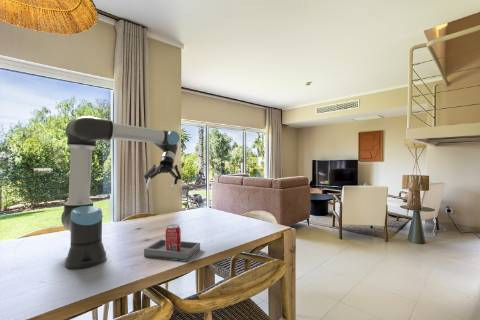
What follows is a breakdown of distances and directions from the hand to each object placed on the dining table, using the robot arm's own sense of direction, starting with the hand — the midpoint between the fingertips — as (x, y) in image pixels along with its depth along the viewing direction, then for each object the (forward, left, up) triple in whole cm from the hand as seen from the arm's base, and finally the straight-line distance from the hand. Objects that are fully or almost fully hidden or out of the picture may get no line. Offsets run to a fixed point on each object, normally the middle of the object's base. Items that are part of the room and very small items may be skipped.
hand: (159, 188), depth 128 cm
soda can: (+13, -10, -29) cm, 33 cm away
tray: (+13, -10, -30) cm, 34 cm away
